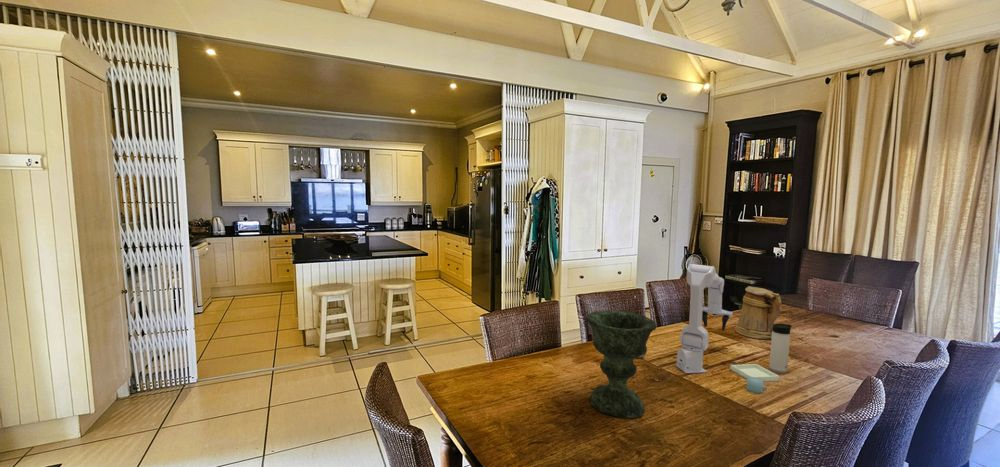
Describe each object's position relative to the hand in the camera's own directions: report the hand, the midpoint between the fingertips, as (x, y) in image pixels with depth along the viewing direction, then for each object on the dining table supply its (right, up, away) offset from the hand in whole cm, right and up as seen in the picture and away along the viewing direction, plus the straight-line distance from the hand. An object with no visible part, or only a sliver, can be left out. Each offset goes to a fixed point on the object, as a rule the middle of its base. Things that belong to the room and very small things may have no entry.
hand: (714, 327), depth 193 cm
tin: (-44, -11, -11) cm, 47 cm away
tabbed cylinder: (-7, -14, -41) cm, 44 cm away
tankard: (+36, -10, +23) cm, 44 cm away
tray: (+2, -13, -28) cm, 30 cm away
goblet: (-62, -14, -54) cm, 84 cm away
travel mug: (+15, -13, -23) cm, 30 cm away
